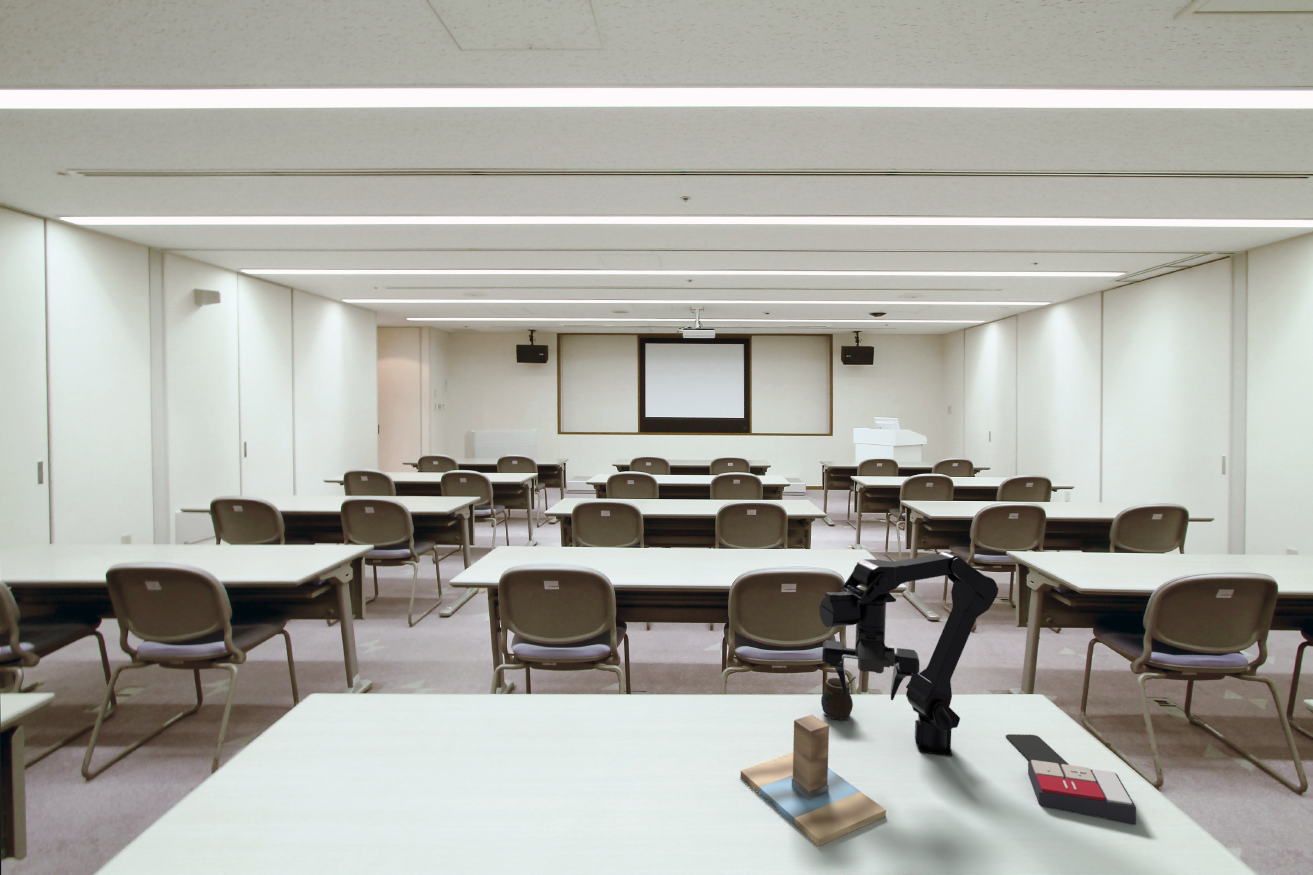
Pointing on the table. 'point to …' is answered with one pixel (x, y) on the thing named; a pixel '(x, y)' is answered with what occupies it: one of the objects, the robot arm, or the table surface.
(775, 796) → the board
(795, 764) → the wooden pillar on base
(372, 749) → the table surface
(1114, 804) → the calculator
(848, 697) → the mate gourd
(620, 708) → the table surface
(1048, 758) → the phone
